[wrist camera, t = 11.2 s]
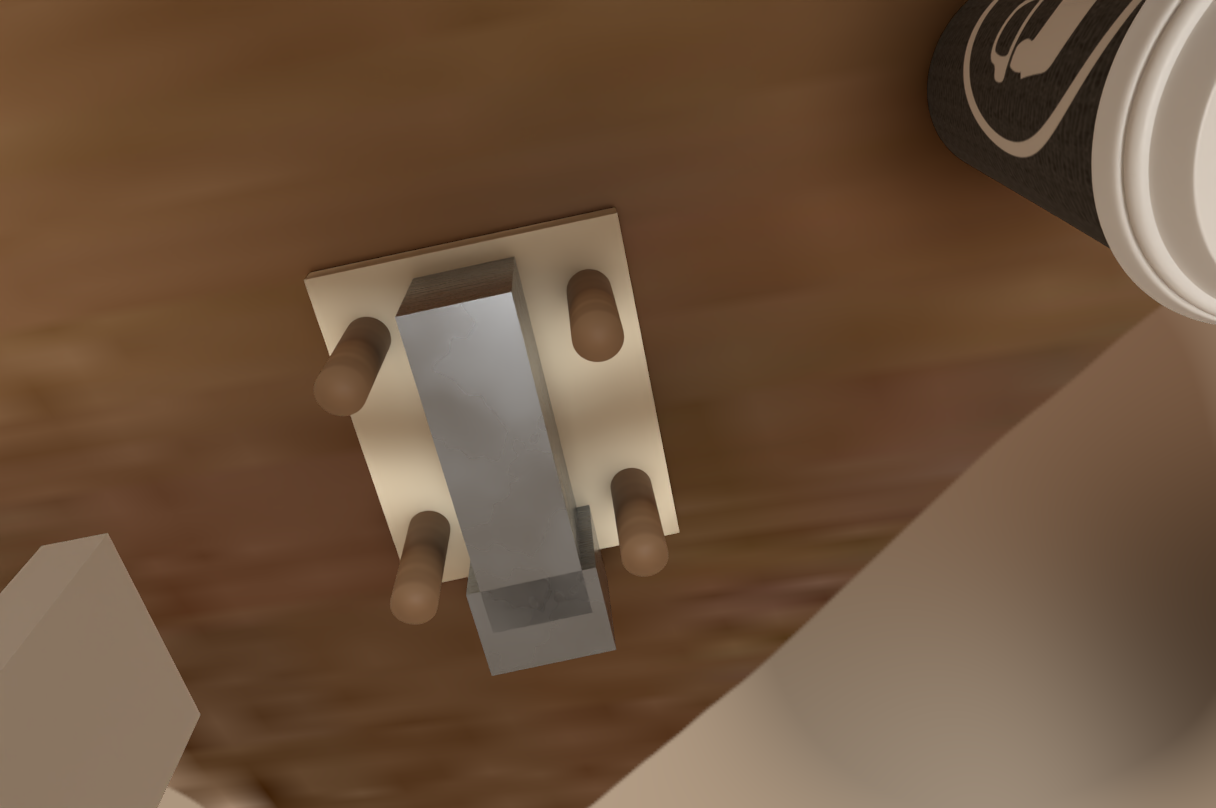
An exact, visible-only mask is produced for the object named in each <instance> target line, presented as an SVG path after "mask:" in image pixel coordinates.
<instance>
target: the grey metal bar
mask: <svg viewBox="0 0 1216 808" xmlns="http://www.w3.org/2000/svg"><path fill="white" fill-rule="evenodd" d="M395 319H396V322H397V325H398V328H399V332H400V335H401V338H402V341H403V345H404V348H405V351H406V354H407V357H408V361H409V364H410V367H411V370H412V374H413V377H414V380H415V383H416V386H417V390H418V393H419V396H420V399H421V403H422V406H423V409H424V412H425V415H426V419H427V422H428V425H429V428H430V432H431V435H432V438H433V441H434V444H435V448H436V451H437V454H438V457H439V461H440V464H441V467H442V470H443V473H444V477H445V480H446V483H447V486H448V490H449V493H450V496H451V499H452V502H453V506H454V509H455V512H456V515H457V519H458V522H459V525H460V528H461V531H462V535H463V538H464V541H465V544H466V548H467V551H468V554H469V557H470V568H469V576H468V584H467V593H466V596H467V599H468V602H469V605H470V609H471V612H472V615H473V618H474V621H475V624H476V627H477V631H478V634H479V637H480V640H481V643H482V646H483V649H484V653H485V656H486V659H487V662H488V665H489V668H490V671H491V675H492V676H493V675H498V674H503V673H508V672H512V671H517V670H522V669H527V668H531V667H536V666H541V665H546V664H550V663H555V662H560V661H565V660H569V659H574V658H579V657H584V656H588V655H593V654H598V653H603V652H607V651H612V650H616V645H615V637H614V629H613V621H612V613H611V605H610V597H609V589H608V581H607V576H606V572H605V568H604V564H603V560H602V556H601V551H600V547H599V543H598V539H597V535H596V531H595V527H594V522H593V518H592V514H591V510H590V506H589V505H586V506H581V507H576V502H575V498H574V494H573V490H572V486H571V482H570V478H569V474H568V470H567V466H566V462H565V458H564V454H563V450H562V446H561V442H560V438H559V434H558V430H557V426H556V422H555V418H554V414H553V410H552V406H551V401H550V397H549V393H548V389H547V385H546V381H545V377H544V373H543V369H542V365H541V361H540V357H539V353H538V349H537V345H536V341H535V337H534V333H533V329H532V325H531V321H530V317H529V313H528V309H527V304H526V300H525V296H524V292H523V288H522V284H521V280H520V276H519V272H518V268H517V264H516V260H515V256H514V257H509V258H505V259H500V260H495V261H491V262H486V263H481V264H477V265H472V266H468V267H463V268H458V269H454V270H449V271H445V272H440V273H435V274H431V275H426V276H421V277H417V278H413V279H412V282H411V284H410V286H409V288H408V290H407V292H406V294H405V297H404V299H403V301H402V303H401V305H400V307H399V310H398V312H397V314H396V316H395Z"/></svg>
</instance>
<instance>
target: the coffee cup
mask: <svg viewBox="0 0 1216 808" xmlns="http://www.w3.org/2000/svg"><path fill="white" fill-rule="evenodd" d="M927 97H928V106H929V111H930V115H931V119H932V122H933V124H934V127H935V129H936V131H937V133H938V135H939V137H940V138H941V140H942V141H943V143H944V144H945V145H946V146H947V148H948V149H949V150H950V151H951V152H952V153H953V154H955V155H956V156H957V157H958V158H960V159H961V160H962V161H964V162H966V163H967V164H969V165H971V166H972V167H974V168H976V169H977V170H979V171H981V172H982V173H984V174H986V175H988V176H989V177H991V178H993V179H994V180H996V181H998V182H999V183H1001V184H1003V185H1004V186H1006V187H1008V188H1010V189H1011V190H1013V191H1015V192H1016V193H1018V194H1020V195H1021V196H1023V197H1025V198H1026V199H1028V200H1030V201H1032V202H1033V203H1035V204H1037V205H1038V206H1040V207H1042V208H1043V209H1045V210H1047V211H1048V212H1050V213H1052V214H1053V215H1055V216H1057V217H1059V218H1060V219H1062V220H1064V221H1065V222H1067V223H1069V224H1070V225H1072V226H1074V227H1075V228H1077V229H1079V230H1080V231H1082V232H1084V233H1085V234H1087V235H1089V236H1090V237H1092V238H1094V239H1095V240H1097V241H1099V242H1100V243H1102V244H1104V245H1105V246H1107V247H1108V248H1110V249H1111V251H1112V253H1113V254H1114V256H1115V258H1116V259H1117V261H1118V263H1119V264H1120V265H1121V267H1122V268H1123V270H1124V271H1125V272H1126V273H1127V275H1128V276H1129V277H1130V278H1131V279H1132V280H1133V282H1134V283H1135V284H1136V285H1137V286H1138V287H1139V288H1141V289H1142V290H1143V291H1144V292H1145V293H1146V294H1148V295H1149V296H1150V297H1151V298H1153V299H1154V300H1156V301H1157V302H1159V303H1160V304H1162V305H1163V306H1165V307H1167V308H1169V309H1171V310H1173V311H1175V312H1177V313H1179V314H1181V315H1184V316H1186V317H1189V318H1192V319H1195V320H1198V321H1202V322H1206V323H1211V324H1216V0H968V1H967V2H966V3H965V4H964V5H963V6H962V7H961V8H960V9H959V10H958V12H957V13H956V14H955V15H954V17H953V18H952V19H951V21H950V22H949V23H948V25H947V27H946V28H945V30H944V32H943V33H942V35H941V37H940V39H939V41H938V43H937V46H936V48H935V51H934V54H933V57H932V60H931V64H930V68H929V74H928V84H927Z"/></svg>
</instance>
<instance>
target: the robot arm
mask: <svg viewBox="0 0 1216 808" xmlns="http://www.w3.org/2000/svg"><path fill="white" fill-rule="evenodd" d="M199 717H200V713H199V711H198V709H197V707H196V705H195V703H194V701H193V699H192V697H191V695H190V693H189V691H188V689H187V687H186V685H185V683H184V681H183V680H182V678H181V676H180V674H179V672H178V670H177V668H176V666H175V664H174V662H173V660H172V658H171V656H170V654H169V652H168V650H167V648H166V646H165V644H164V642H163V640H162V638H161V636H160V635H159V633H158V631H157V629H156V627H155V625H154V623H153V621H152V619H151V617H150V615H149V613H148V611H147V609H146V607H145V605H144V603H143V601H142V599H141V597H140V595H139V593H138V591H137V589H136V588H135V586H134V584H133V582H132V580H131V578H130V576H129V574H128V572H127V570H126V568H125V566H124V564H123V562H122V560H121V558H120V556H119V554H118V552H117V550H116V548H115V546H114V544H113V543H112V541H111V539H110V537H109V535H108V533H106V534H101V535H96V536H91V537H85V538H80V539H75V540H70V541H65V542H60V543H55V544H50V545H45V546H41V547H40V548H39V550H38V551H37V552H36V553H35V554H34V555H33V557H32V558H31V559H30V560H29V561H28V562H27V563H26V565H25V566H24V567H23V568H22V569H21V570H20V571H19V573H18V574H17V575H16V576H15V577H14V578H13V579H12V581H11V582H10V583H9V584H8V585H7V586H6V587H5V589H4V590H3V591H2V592H1V593H0V808H157V807H158V805H159V803H160V801H161V799H162V797H163V794H164V792H165V790H166V788H167V786H168V784H169V782H170V779H171V777H172V775H173V773H174V771H175V769H176V766H177V764H178V762H179V760H180V758H181V756H182V753H183V751H184V749H185V747H186V745H187V743H188V740H189V738H190V736H191V734H192V732H193V730H194V727H195V725H196V723H197V721H198V719H199Z"/></svg>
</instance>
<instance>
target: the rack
mask: <svg viewBox="0 0 1216 808" xmlns="http://www.w3.org/2000/svg"><path fill="white" fill-rule="evenodd" d="M514 256H515V260H516V264H517V268H518V272H519V276H520V280H521V284H522V288H523V292H524V296H525V300H526V304H527V309H528V313H529V317H530V321H531V325H532V329H533V333H534V337H535V341H536V345H537V349H538V353H539V357H540V361H541V365H542V369H543V373H544V377H545V381H546V385H547V389H548V393H549V397H550V401H551V406H552V410H553V414H554V418H555V422H556V426H557V430H558V434H559V438H560V442H561V446H562V450H563V454H564V458H565V462H566V466H567V470H568V474H569V478H570V482H571V486H572V490H573V494H574V498H575V502H576V507H581V506H586V505H589V506H590V510H591V514H592V518H593V522H594V527H595V531H596V535H597V539H598V543H599V547H600V549H603V548H608V547H613V546H617V545H619V546H620V553H621V559H622V563H623V566H624V567H625V569H626V570H627V571H628V572H630V573H631V574H633V575H636V576H642V577H645V576H651V575H654V574H656V573H658V572H659V571H661V570H662V569H663V568H664V567H665V565H666V563H667V561H668V557H669V554H668V549H667V544H666V540H665V535H670V534H675V533H679V528H678V523H677V517H676V512H675V507H674V502H673V497H672V492H671V487H670V481H669V476H668V471H667V466H666V461H665V456H664V451H663V445H662V440H661V435H660V430H659V425H658V420H657V415H656V409H655V404H654V399H653V394H652V389H651V384H650V379H649V373H648V368H647V363H646V358H645V353H644V348H643V343H642V338H641V332H640V327H639V322H638V317H637V312H636V307H635V302H634V296H633V291H632V286H631V281H630V276H629V271H628V266H627V260H626V255H625V250H624V245H623V240H622V235H621V230H620V224H619V219H618V214H617V211H616V209H615V207H614V208H609V209H604V210H600V211H595V212H590V213H586V214H581V215H576V216H572V217H567V218H562V219H558V220H553V221H548V222H544V223H539V224H534V225H530V226H525V227H520V228H516V229H511V230H506V231H502V232H497V233H492V234H488V235H483V236H478V237H474V238H469V239H464V240H460V241H455V242H450V243H446V244H441V245H436V246H432V247H427V248H422V249H418V250H413V251H408V252H404V253H399V254H394V255H390V256H385V257H380V258H376V259H371V260H366V261H362V262H357V263H352V264H348V265H343V266H338V267H334V268H329V269H324V270H320V271H315V272H310V274H309V275H308V276H307V277H306V278H305V279H304V282H305V285H306V288H307V291H308V294H309V297H310V300H311V302H312V305H313V308H314V311H315V314H316V317H317V320H318V323H319V326H320V329H321V332H322V334H323V337H324V340H325V343H326V346H327V349H328V352H329V355H330V357H329V359H328V360H327V362H326V364H325V365H324V367H323V369H322V370H321V372H320V374H319V375H318V377H317V379H316V381H315V383H314V389H313V391H314V396H315V399H316V401H317V403H318V404H319V406H320V407H321V408H322V409H324V410H325V411H326V412H328V413H330V414H333V415H337V416H349V415H350V416H351V419H352V422H353V424H354V427H355V430H356V433H357V436H358V439H359V442H360V445H361V448H362V451H363V454H364V456H365V459H366V462H367V465H368V468H369V471H370V474H371V477H372V480H373V483H374V485H375V488H376V491H377V494H378V497H379V500H380V503H381V506H382V509H383V512H384V515H385V517H386V520H387V523H388V526H389V529H390V532H391V535H392V538H393V541H394V544H395V546H396V549H397V552H398V555H399V558H400V564H399V568H398V572H397V576H396V580H395V584H394V588H393V592H392V596H391V600H390V608H391V611H392V613H393V615H394V616H395V617H396V618H397V619H399V620H400V621H402V622H404V623H407V624H422V623H425V622H427V621H429V620H430V619H432V618H433V616H434V615H435V614H436V612H437V608H438V603H439V597H440V591H441V585H442V582H446V581H450V580H455V579H460V578H465V577H468V576H469V568H470V557H469V554H468V551H467V548H466V544H465V541H464V538H463V535H462V531H461V528H460V525H459V522H458V519H457V515H456V512H455V509H454V506H453V502H452V499H451V496H450V493H449V490H448V486H447V483H446V480H445V477H444V473H443V470H442V467H441V464H440V461H439V457H438V454H437V451H436V448H435V444H434V441H433V438H432V435H431V432H430V428H429V425H428V422H427V419H426V415H425V412H424V409H423V406H422V403H421V399H420V396H419V393H418V390H417V386H416V383H415V380H414V377H413V374H412V370H411V367H410V364H409V361H408V357H407V354H406V351H405V348H404V345H403V341H402V338H401V335H400V332H399V328H398V325H397V322H396V319H395V316H396V314H397V312H398V310H399V307H400V305H401V303H402V301H403V299H404V297H405V294H406V292H407V290H408V288H409V286H410V284H411V282H412V279H413V278H417V277H421V276H426V275H431V274H435V273H440V272H445V271H449V270H454V269H458V268H463V267H468V266H472V265H477V264H481V263H486V262H491V261H495V260H500V259H505V258H509V257H514Z"/></svg>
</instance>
